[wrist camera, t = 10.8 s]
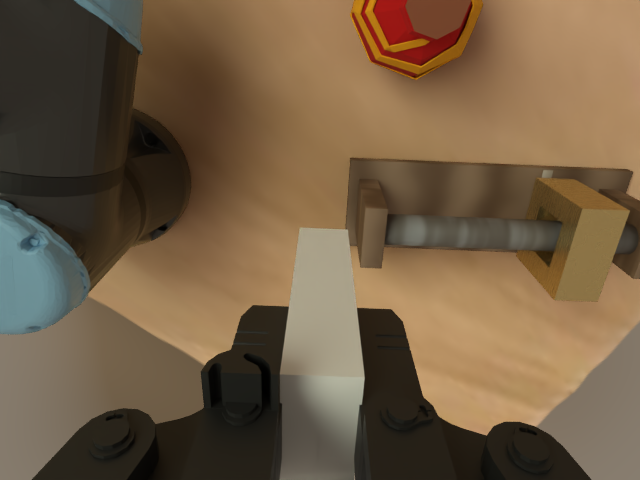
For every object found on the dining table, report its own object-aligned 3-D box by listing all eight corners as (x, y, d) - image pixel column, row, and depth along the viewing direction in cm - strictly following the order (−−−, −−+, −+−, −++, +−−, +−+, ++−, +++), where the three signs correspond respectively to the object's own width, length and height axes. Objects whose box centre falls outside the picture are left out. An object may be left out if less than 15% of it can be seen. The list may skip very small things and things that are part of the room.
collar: (516, 256, 49) (554, 299, 41) (535, 177, 45) (582, 208, 37) (552, 257, 49) (597, 301, 41) (574, 179, 45) (630, 210, 37)
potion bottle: (401, 94, 45) (435, 120, 31) (325, 20, 42) (324, 12, 28) (481, 6, 41) (557, -9, 28) (403, -81, 39) (445, -145, 25)
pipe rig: (344, 241, 52) (348, 285, 43) (350, 157, 47) (356, 186, 38) (599, 252, 52) (657, 297, 43) (627, 169, 48) (698, 200, 38)
